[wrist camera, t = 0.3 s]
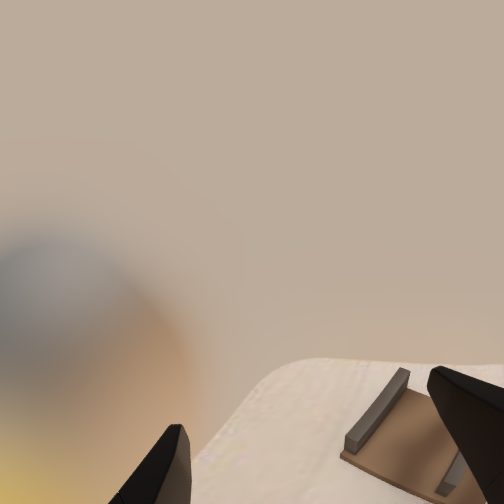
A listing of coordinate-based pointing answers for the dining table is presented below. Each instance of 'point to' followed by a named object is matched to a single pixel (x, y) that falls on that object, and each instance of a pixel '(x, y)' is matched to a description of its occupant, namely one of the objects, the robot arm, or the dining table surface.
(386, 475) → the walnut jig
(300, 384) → the dining table surface
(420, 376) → the dining table surface
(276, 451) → the dining table surface
